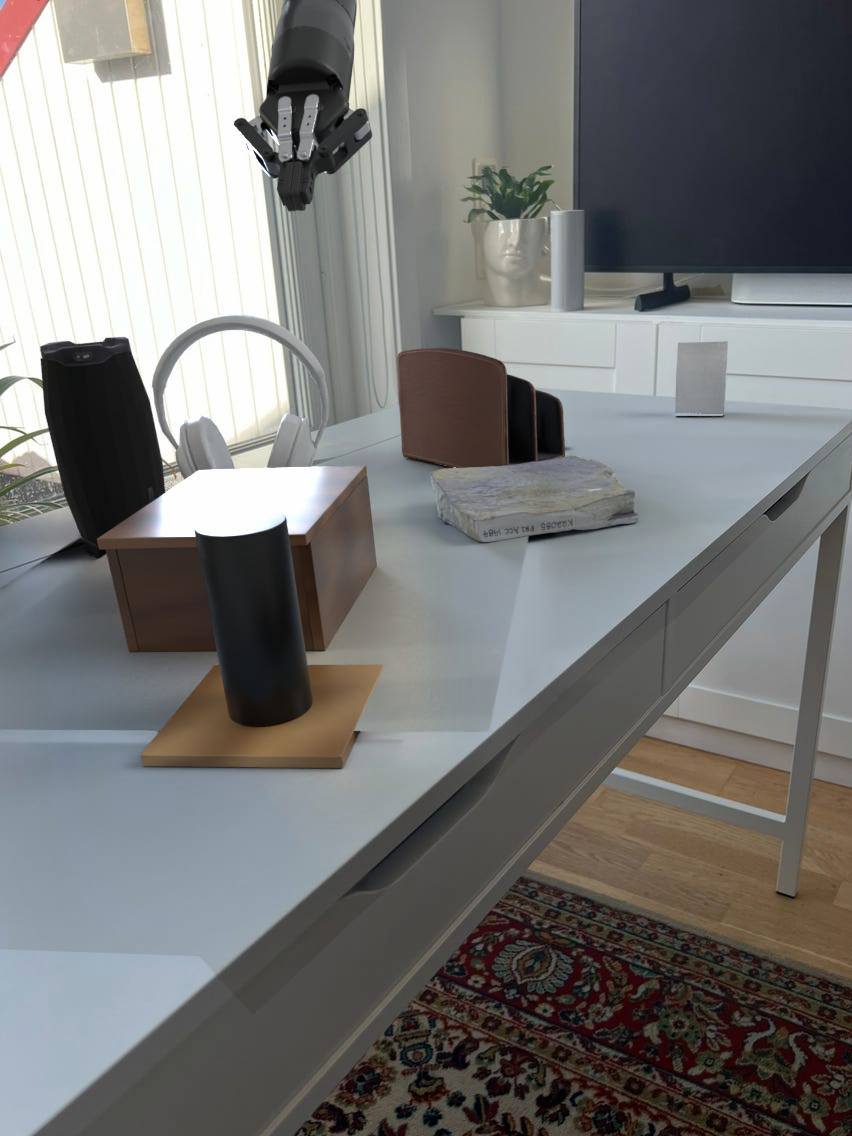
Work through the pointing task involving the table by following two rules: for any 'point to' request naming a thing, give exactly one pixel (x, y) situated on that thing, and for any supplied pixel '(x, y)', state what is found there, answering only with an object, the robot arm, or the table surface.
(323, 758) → the board
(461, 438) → the letter holder
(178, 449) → the headphones
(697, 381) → the grey rectangular block
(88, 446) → the portable speaker
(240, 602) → the tin
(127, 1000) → the table surface
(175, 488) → the lid
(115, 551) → the wooden box
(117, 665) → the table surface
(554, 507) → the fossil
